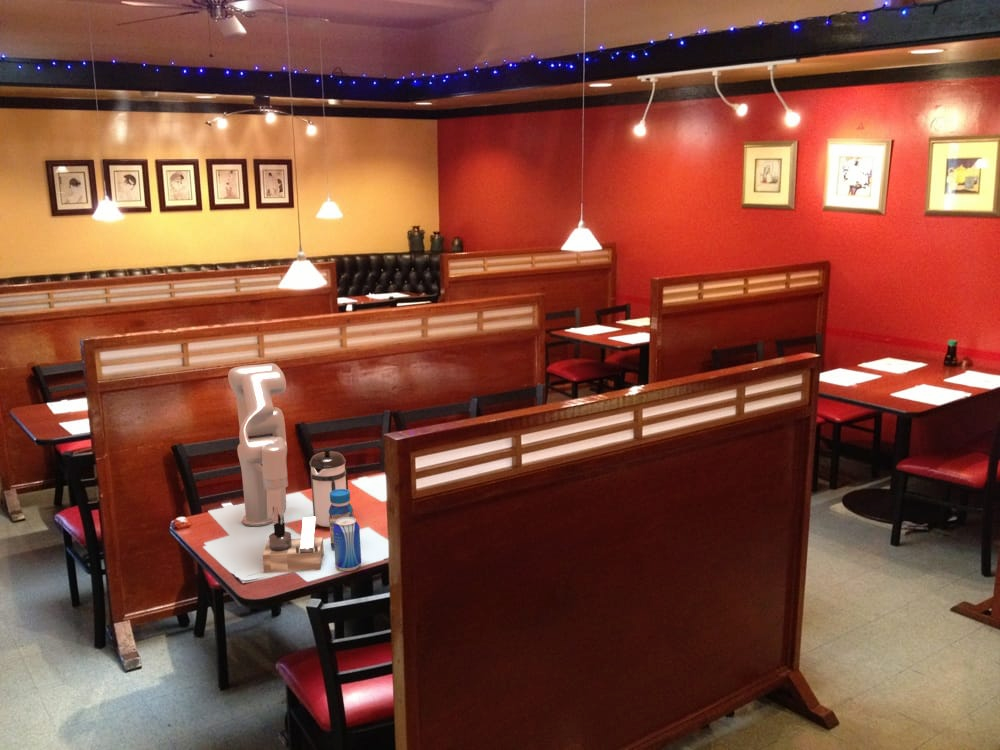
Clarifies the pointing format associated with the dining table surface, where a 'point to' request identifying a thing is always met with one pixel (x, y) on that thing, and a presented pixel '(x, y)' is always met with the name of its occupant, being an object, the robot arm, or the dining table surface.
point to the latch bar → (307, 534)
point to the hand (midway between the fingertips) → (279, 534)
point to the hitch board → (293, 557)
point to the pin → (280, 542)
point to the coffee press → (326, 482)
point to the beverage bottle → (339, 508)
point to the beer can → (347, 544)
